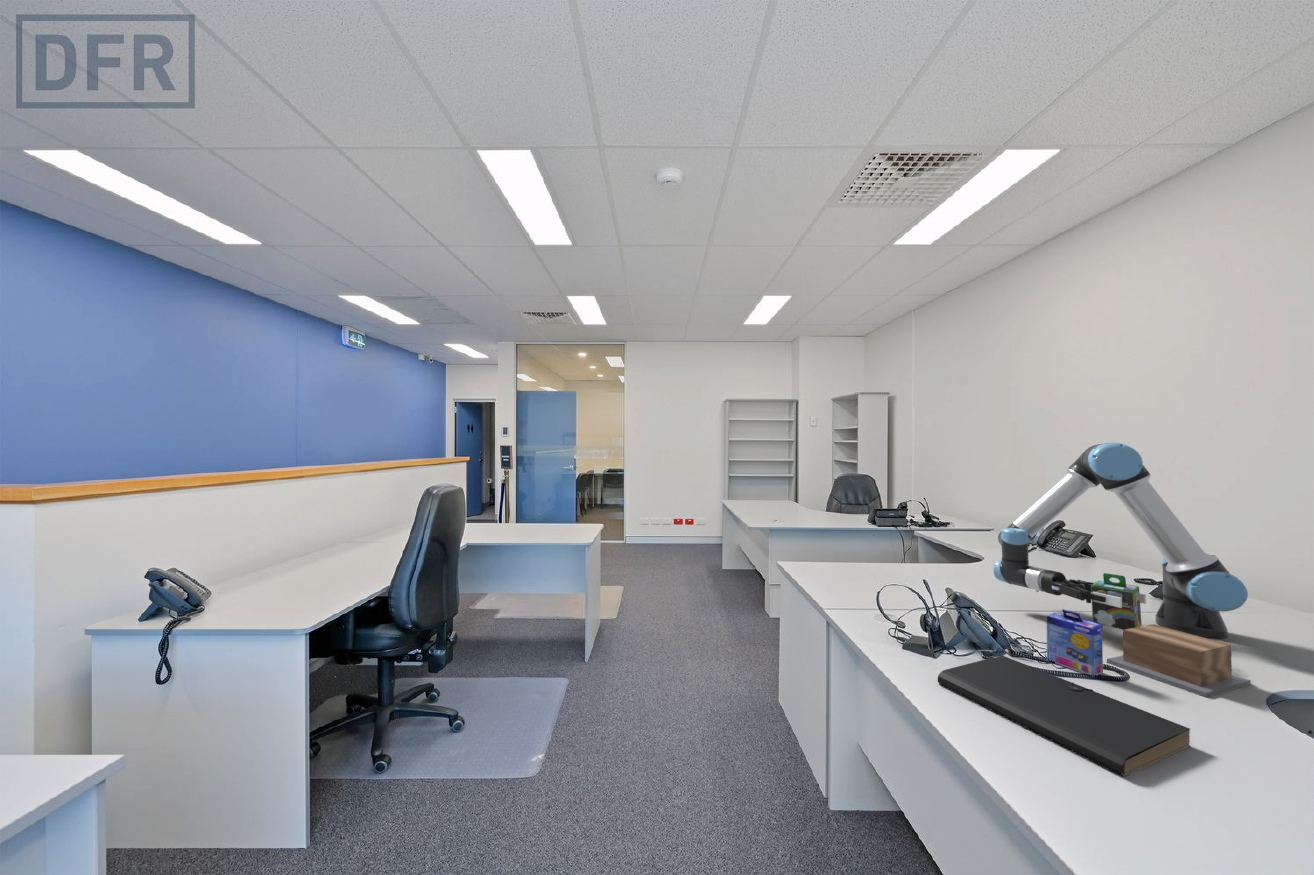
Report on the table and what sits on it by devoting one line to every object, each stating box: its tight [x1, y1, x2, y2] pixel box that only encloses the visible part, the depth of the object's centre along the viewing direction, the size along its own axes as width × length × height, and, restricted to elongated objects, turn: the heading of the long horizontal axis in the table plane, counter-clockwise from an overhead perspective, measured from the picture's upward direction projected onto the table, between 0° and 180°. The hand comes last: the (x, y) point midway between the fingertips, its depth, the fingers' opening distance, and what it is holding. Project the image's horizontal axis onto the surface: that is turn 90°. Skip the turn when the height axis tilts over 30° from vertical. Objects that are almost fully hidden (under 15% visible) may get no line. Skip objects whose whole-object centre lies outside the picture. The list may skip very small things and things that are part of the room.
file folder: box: [937, 655, 1191, 777], centre depth 97 cm, size 33×4×24 cm
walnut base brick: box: [1122, 623, 1233, 687], centre depth 117 cm, size 14×14×8 cm
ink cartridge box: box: [1046, 609, 1104, 676], centre depth 119 cm, size 10×6×14 cm, turn 27°
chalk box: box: [1091, 572, 1142, 631], centre depth 136 cm, size 9×9×15 cm
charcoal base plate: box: [1106, 655, 1252, 698], centre depth 117 cm, size 20×18×1 cm
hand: (1133, 600), depth 132 cm, fingers closed on chalk box, 11 cm apart
